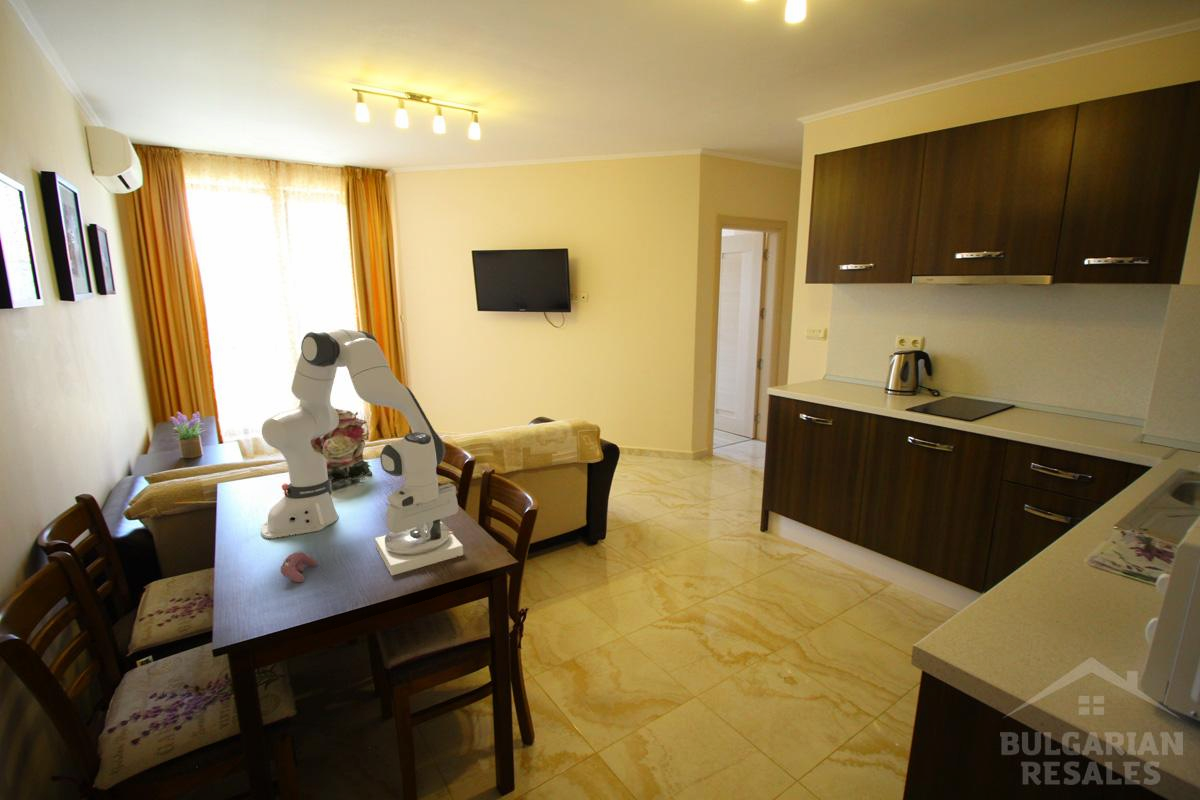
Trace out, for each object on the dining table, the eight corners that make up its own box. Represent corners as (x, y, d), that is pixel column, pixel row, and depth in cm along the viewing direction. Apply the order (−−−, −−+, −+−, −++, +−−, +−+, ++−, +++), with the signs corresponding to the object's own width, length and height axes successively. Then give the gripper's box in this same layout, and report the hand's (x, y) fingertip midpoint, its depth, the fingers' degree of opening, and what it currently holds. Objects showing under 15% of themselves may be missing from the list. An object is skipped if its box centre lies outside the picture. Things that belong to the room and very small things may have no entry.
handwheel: (371, 549, 152) (368, 523, 150) (413, 524, 168) (411, 500, 167) (423, 559, 146) (421, 532, 144) (461, 532, 162) (459, 507, 161)
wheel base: (391, 575, 144) (390, 564, 143) (376, 547, 160) (374, 537, 160) (464, 554, 155) (463, 544, 154) (442, 530, 171) (441, 520, 171)
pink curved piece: (305, 570, 150) (291, 550, 149) (320, 563, 150) (305, 543, 149) (289, 589, 141) (273, 568, 139) (304, 581, 141) (288, 560, 139)
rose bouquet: (292, 481, 218) (282, 410, 212) (365, 465, 238) (358, 399, 232) (311, 498, 200) (301, 420, 194) (388, 479, 219) (381, 408, 213)
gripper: (449, 478, 158) (452, 522, 160) (381, 498, 143) (386, 545, 146) (461, 484, 153) (463, 528, 156) (392, 504, 139) (396, 553, 142)
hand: (425, 537), depth 151 cm, fingers closed
